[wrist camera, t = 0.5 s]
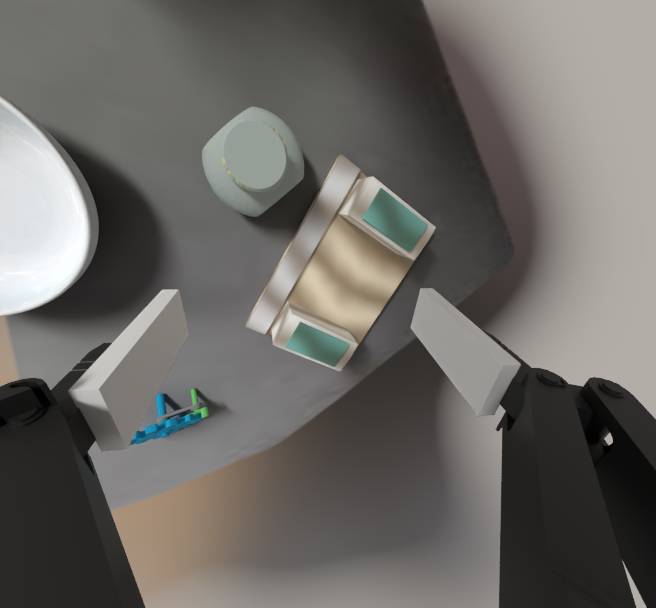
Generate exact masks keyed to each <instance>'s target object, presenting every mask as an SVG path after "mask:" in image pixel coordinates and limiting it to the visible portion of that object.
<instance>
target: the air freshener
mask: <svg viewBox="0 0 656 608" xmlns="http://www.w3.org/2000/svg"><path fill="white" fill-rule="evenodd" d="M202 160H203V167H204V171H205V174H206V177H207V180H208V182H209V184H210V186H211V187H212V189H213V191H214V192H215V194H216V195H217V196H218V197H219V198H220V199H221V200H222V201H223V202H224V203H225V204H226V205H227V206H229V207H230V208H232V209H233V210H235V211H237V212H239V213H241V214H244V215H248V216H252V217H258V216H259V215H261V214H262V213H263V212H265V211H266V210H267V209H268V208H270V207H271V206H272V205H273V204H274V203H276V202H277V201H278V200H279V199H280V198H282V197H283V196H284V195H285V194H286V193H288V192H289V191H290V190H291V189H292V188H293V187H295V186H296V185H297V184H298V183H299V182H300V181H301V180H302V179H303V177H304V160H303V154H302V151H301V148H300V145H299V143H298V141H297V139H296V137H295V135H294V134H293V132H292V131H291V129H290V128H289V127H288V126H287V125H286V124H285V122H283V121H282V120H281V119H280V118H279V117H277V116H276V115H274V114H272V113H271V112H269V111H267V110H264V109H261V108H257V107H250V108H248V109H246V110H245V111H243V112H242V113H240V114H239V115H237V116H236V117H235V118H234V119H232V120H231V121H230V122H229V123H227V124H226V125H225V126H224V127H223V128H222V129H221V130H220V131H218V132H217V133H216V134H215V135H214V136H213V137H212V138H211V139H210V141H209V142H208V143H207V144H206V145H205V147H204V148H203V150H202Z"/></svg>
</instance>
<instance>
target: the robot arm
mask: <svg viewBox="0 0 656 608" xmlns="http://www.w3.org/2000/svg"><path fill="white" fill-rule="evenodd" d="M411 329H412V330H413V332H414V333H415V334H416V336H417V337H418V338H419V340H420V341H421V342H422V344H423V345H424V346H425V347H426V349H427V350H428V351H429V353H430V354H431V355H432V357H433V358H434V359H435V360H436V362H437V363H438V365H439V366H440V367H441V368H442V370H443V371H444V372H445V374H446V375H447V376H448V378H449V379H450V380H451V382H452V383H453V384H454V385H455V387H456V388H457V390H458V391H459V392H460V393H461V395H462V396H463V397H464V399H465V400H466V401H467V403H468V404H469V405H470V407H471V408H472V409H473V411H474V412H475V413H476V414H477V416H485V415H494V414H495V412H496V410H497V408H498V407H499V405H501V406H502V407H503V408H504V409H505V410H506V412H505V414H504V416H503V417H502V419H501V421H500V423H499V425H498V426H497V429H496V430H497V431H499V430H500V428H503V431H502V481H501V535H500V587H499V589H500V590H499V608H636V605H635V602H634V599H633V595H632V592H631V589H630V585H629V582H628V579H627V575H626V572H625V569H624V565H623V562H624V564H625V566H626V568H627V570H628V572H629V574H630V576H631V577H632V579H633V581H634V583H635V585H636V587H637V589H638V591H639V593H640V595H641V597H642V599H643V601H644V603H645V605H646V607H647V608H656V419H655V418H653V416H652V415H651V414H650V413H649V412H648V411H647V410H646V409H645V408H644V406H643V405H642V404H641V403H640V402H639V401H638V400H637V399H636V398H635V397H634V396H633V395H632V394H631V393H630V392H629V391H627V390H626V389H624V388H623V387H621V386H620V385H619V384H617V383H613V382H612V381H609V380H605V379H602V378H595V377H594V378H589V380H588V381H587V382H586V384H585V385H584V387H582V386H577V385H571V384H568V383H567V382H566V381H565V380H564V379H563V378H562V377H560V376H558V375H557V374H555V373H553V372H550V371H548V370H544V369H541V368H531V367H530V366H529V365H528V364H526V363H525V362H524V361H523V360H522V359H520V358H519V357H518V356H517V355H516V354H514V353H513V352H512V351H511V350H510V349H508V348H507V347H506V346H505V345H504V344H501V342H500V341H499V340H498V339H496V338H495V337H494V336H493V335H491V334H489V333H487V332H486V331H484V330H481V329H479V328H478V327H477V326H476V325H475V324H474V323H472V322H471V321H470V320H469V319H468V318H467V317H465V316H464V315H463V314H462V313H461V312H460V311H458V310H457V309H456V308H455V307H454V306H453V305H451V304H450V303H449V302H448V301H447V300H446V299H444V298H443V297H442V296H441V295H440V294H439V293H437V292H436V291H435V290H434V289H433V288H421V289H420V293H419V296H418V300H417V304H416V308H415V312H414V316H413V320H412V324H411ZM188 335H189V333H188V328H187V324H186V319H185V315H184V310H183V306H182V302H181V297H180V293H179V289H178V290H161V291H160V293H159V294H158V295H157V296H156V297H155V298H154V299H153V300H152V301H151V302H150V303H149V304H148V305H147V307H146V308H145V309H144V310H143V311H142V312H141V313H140V314H139V315H138V316H137V317H136V318H135V319H134V320H133V322H132V323H131V324H130V325H129V326H128V327H127V328H126V329H125V330H124V331H123V332H122V333H121V334H120V335H119V337H118V338H117V339H116V340H115V341H114V342H113V343H104V344H102V345H100V346H98V347H97V348H95V349H93V350H92V351H90V352H89V353H88V354H87V355H86V356H85V357H84V358H83V359H82V360H81V361H80V363H78V364H77V365H76V366H75V367H74V368H73V369H72V371H70V372H69V373H68V374H67V375H66V376H65V377H64V378H63V379H62V380H61V381H60V382H59V383H58V384H57V385H56V386H55V387H54V388H53V389H52V390H51V391H50V389H49V387H48V386H47V384H46V383H45V382H44V381H43V380H42V379H38V378H28V379H21V380H18V381H14V382H11V383H8V384H5V385H3V386H1V387H0V608H145V605H144V603H143V600H142V597H141V594H140V592H139V589H138V586H137V583H136V581H135V578H134V575H133V573H132V570H131V567H130V564H129V562H128V559H127V556H126V553H125V550H124V548H123V545H122V542H121V539H120V537H119V534H118V531H117V529H116V526H115V523H114V520H113V518H112V515H111V512H110V509H109V506H108V504H107V501H106V498H105V495H104V493H103V490H102V487H101V484H100V482H99V479H98V476H97V473H96V471H95V468H94V465H93V462H92V460H91V457H90V456H89V454H88V450H89V449H90V447H91V446H92V444H93V443H94V441H96V442H97V444H98V446H99V448H100V450H101V451H111V450H121V449H128V447H129V445H130V443H131V441H132V439H133V437H134V436H135V434H136V432H137V430H138V428H139V426H140V424H141V423H142V421H143V419H144V417H145V415H146V413H147V411H148V410H149V408H150V406H151V404H152V402H153V400H154V398H155V397H156V395H157V393H158V391H159V389H160V387H161V385H162V384H163V382H164V380H165V378H166V376H167V374H168V372H169V371H170V369H171V367H172V365H173V363H174V361H175V359H176V358H177V356H178V354H179V352H180V350H181V348H182V346H183V345H184V343H185V341H186V339H187V337H188ZM609 432H610V433H611V435H612V438H613V443H612V444H611V445H608V444H607V443H606V441H605V440H604V438H605V437H606V436H607V435H608V433H609ZM622 560H623V562H622Z"/></svg>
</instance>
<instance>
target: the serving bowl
mask: <svg viewBox="0 0 656 608" xmlns="http://www.w3.org/2000/svg"><path fill="white" fill-rule="evenodd" d="M98 234H99V222H98V214H97V209H96V205H95V202H94V198H93V196H92V193H91V191H90V188H89V186H88V184H87V182H86V180H85V178H84V177H83V175H82V173H81V172H80V170H79V168H78V167H77V165H76V164H75V162H74V161H73V160H72V158H71V157H70V156H69V154H68V153H67V152H66V151H65V149H64V148H63V147H62V146H61V145H60V144H59V143H58V142H57V141H56V139H55V138H54V137H53V136H52V135H51V134H50V133H49V132H47V131H46V130H45V129H44V128H43V127H42V126H41V125H40V124H39V123H38V122H36V121H35V120H34V119H33V118H32V117H31V116H29V115H28V114H27V113H25V112H24V111H23V110H22V109H20V108H19V107H18V106H16V105H15V104H13V103H12V102H10V101H9V100H8V99H6V98H5V97H3V96H2V95H0V316H7V315H13V314H18V313H22V312H25V311H29V310H32V309H35V308H37V307H40V306H42V305H44V304H46V303H48V302H50V301H52V300H54V299H55V298H57V297H58V296H60V295H61V294H63V293H64V292H65V291H66V290H68V289H69V288H70V287H71V286H72V285H73V284H74V283H75V282H76V281H77V280H78V279H79V278H80V277H81V276H82V275H83V273H84V272H85V271H86V269H87V268H88V266H89V264H90V262H91V260H92V258H93V256H94V253H95V250H96V247H97V242H98Z"/></svg>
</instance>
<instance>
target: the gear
mask: <svg viewBox="0 0 656 608" xmlns="http://www.w3.org/2000/svg"><path fill="white" fill-rule="evenodd" d="M190 391H191V396H192V402H193V405H191V406H189V407H186V408H183V409H180V410H177V411H174V412H171V413H168V414H167V413H166V406H165V399H164V394H160V395H157V396H156V401H157V409H158V417H157V418H156V421H157V424H154V425H151V426H148V427H145V431H141V432H140V431H137V432H136V434H135V436H134V437H133V439H132V441H131V443H130V445H132V444H135V443H136V444H139V443H143V442H145V441H147V440H150V439H152V438H153V439H156V438H160V437H161V438H164V437H167V436H169V435H170V434H169V433H170V432H171V433H174V432H177V431H180V428H183V427H185V428H186V427H189V426H192V425H194V423H197V422H200V421H202V418H205V417H208V416H209V413H208V407H204V408H203V407H202V403H198V398H197V393H196V389H192V390H190ZM188 411H191V412H192V411H193V413H190V414H187V415H186V416H184V417H182V418H179V419H178V418H173V419H170V418H171V417H174V416H176V415H179V414H182V413H185V412H188ZM130 445H129V446H130Z"/></svg>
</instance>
